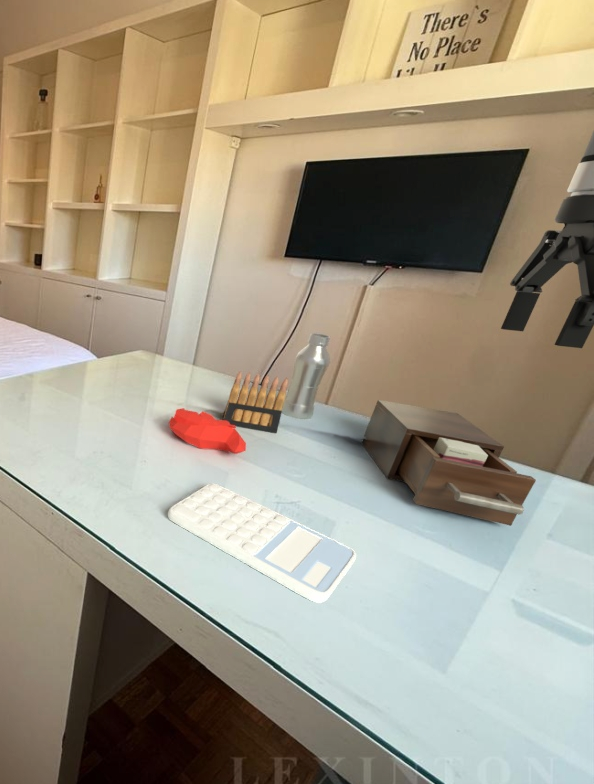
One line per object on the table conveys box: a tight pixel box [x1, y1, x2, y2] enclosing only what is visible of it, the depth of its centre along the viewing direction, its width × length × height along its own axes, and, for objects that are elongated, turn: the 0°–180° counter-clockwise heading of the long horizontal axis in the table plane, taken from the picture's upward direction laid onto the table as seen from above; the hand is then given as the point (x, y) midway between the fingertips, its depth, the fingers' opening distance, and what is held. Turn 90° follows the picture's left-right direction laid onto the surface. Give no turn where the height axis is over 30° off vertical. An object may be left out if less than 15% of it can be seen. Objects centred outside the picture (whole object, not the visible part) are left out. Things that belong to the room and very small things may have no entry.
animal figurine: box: [168, 407, 247, 455], centre depth 88 cm, size 12×15×5 cm
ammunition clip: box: [221, 371, 289, 434], centre depth 96 cm, size 11×2×12 cm, turn 72°
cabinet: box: [360, 399, 505, 483], centre depth 84 cm, size 16×13×10 cm
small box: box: [434, 437, 488, 467], centre depth 73 cm, size 5×4×8 cm
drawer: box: [397, 434, 536, 526], centre depth 72 cm, size 19×12×8 cm, turn 157°
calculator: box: [167, 483, 357, 604], centre depth 61 cm, size 13×20×2 cm, turn 40°
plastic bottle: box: [281, 333, 331, 420], centre depth 100 cm, size 6×7×20 cm
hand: (537, 337), depth 73 cm, fingers open, 13 cm apart
